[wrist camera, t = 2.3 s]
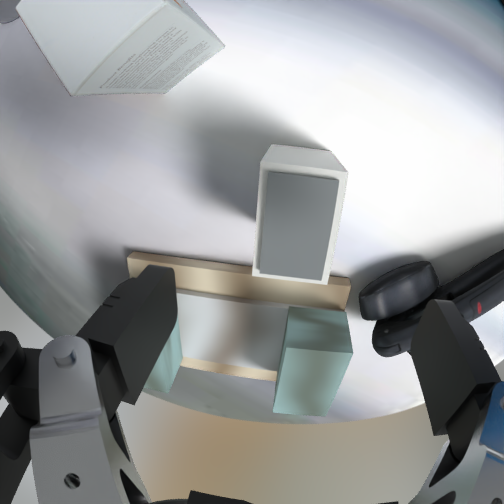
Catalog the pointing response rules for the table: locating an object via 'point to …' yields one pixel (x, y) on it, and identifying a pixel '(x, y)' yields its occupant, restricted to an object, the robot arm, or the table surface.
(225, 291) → the rail board
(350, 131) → the table surface
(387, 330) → the can opener
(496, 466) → the robot arm
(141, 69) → the small box
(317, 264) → the block
